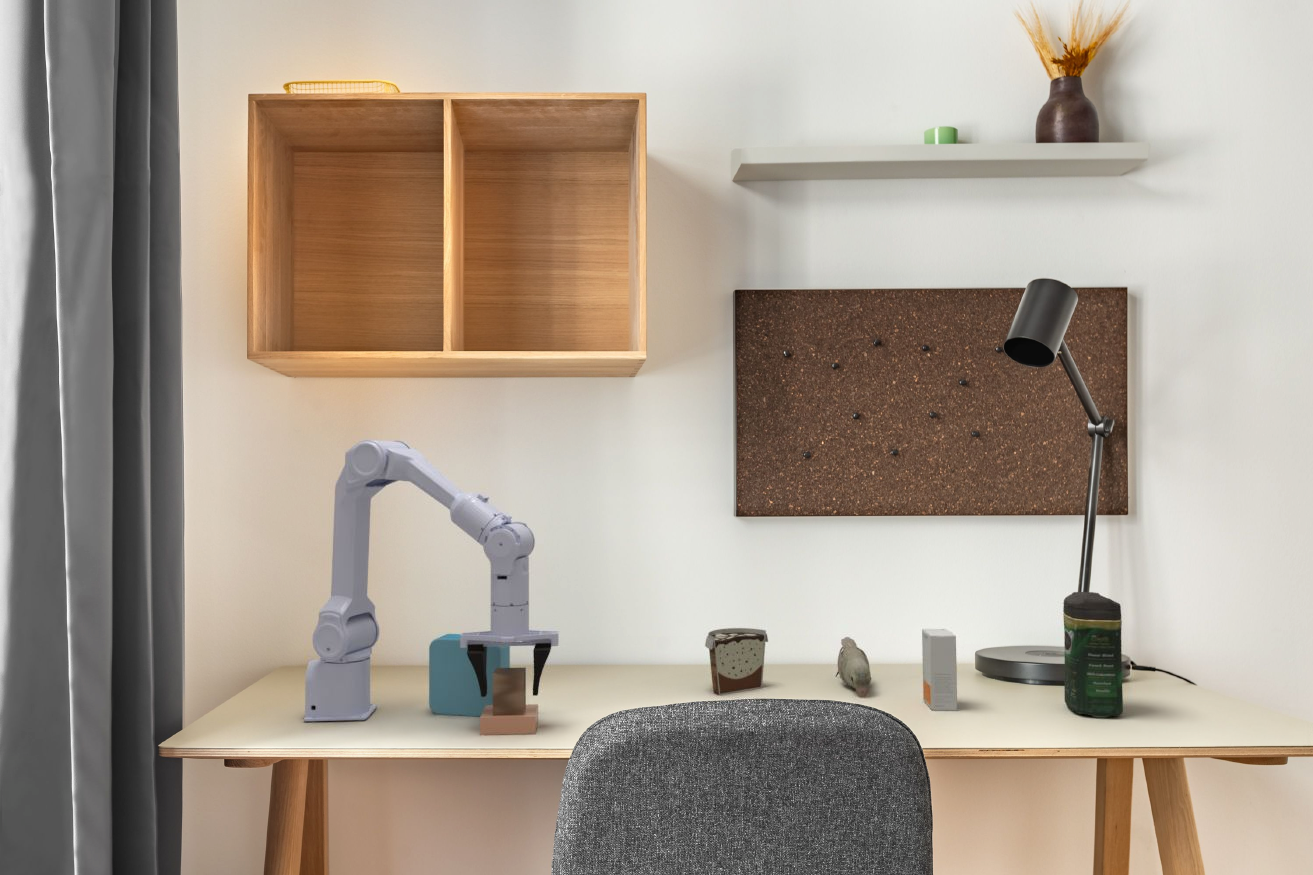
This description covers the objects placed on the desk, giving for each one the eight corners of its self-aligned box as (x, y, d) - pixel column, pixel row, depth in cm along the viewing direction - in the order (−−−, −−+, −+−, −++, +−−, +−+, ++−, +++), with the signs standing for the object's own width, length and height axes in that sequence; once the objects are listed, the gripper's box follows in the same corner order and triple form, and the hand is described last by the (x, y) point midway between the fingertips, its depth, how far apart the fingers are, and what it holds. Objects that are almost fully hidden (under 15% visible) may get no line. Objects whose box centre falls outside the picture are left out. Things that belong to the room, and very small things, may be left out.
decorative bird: (846, 699, 156) (846, 654, 156) (832, 677, 172) (832, 636, 172) (879, 699, 156) (878, 654, 156) (861, 677, 172) (861, 636, 172)
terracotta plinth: (480, 734, 135) (480, 717, 136) (485, 721, 142) (485, 705, 142) (535, 733, 136) (535, 716, 136) (538, 720, 143) (538, 704, 143)
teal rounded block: (510, 710, 149) (510, 635, 150) (500, 717, 145) (500, 640, 145) (440, 706, 152) (440, 633, 152) (428, 714, 147) (428, 638, 147)
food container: (747, 680, 169) (746, 625, 169) (768, 686, 164) (768, 630, 164) (691, 689, 162) (691, 631, 163) (711, 696, 157) (711, 637, 158)
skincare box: (922, 701, 154) (921, 628, 154) (948, 701, 153) (947, 628, 154) (931, 710, 147) (929, 635, 148) (958, 711, 147) (957, 635, 148)
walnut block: (492, 715, 137) (492, 674, 137) (495, 707, 141) (495, 667, 141) (523, 714, 137) (523, 673, 137) (525, 706, 141) (525, 667, 142)
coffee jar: (1130, 720, 141) (1127, 597, 142) (1074, 717, 143) (1072, 596, 143) (1111, 704, 151) (1109, 589, 151) (1059, 701, 152) (1057, 588, 153)
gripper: (457, 608, 135) (457, 702, 135) (557, 606, 136) (557, 700, 136) (463, 601, 142) (463, 690, 142) (558, 599, 143) (559, 688, 143)
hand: (509, 694), depth 139 cm, fingers open, 7 cm apart
